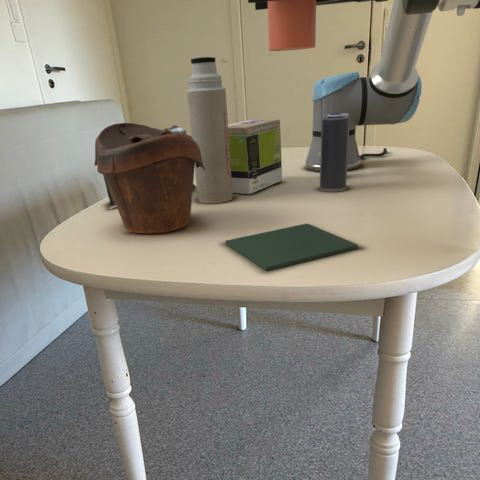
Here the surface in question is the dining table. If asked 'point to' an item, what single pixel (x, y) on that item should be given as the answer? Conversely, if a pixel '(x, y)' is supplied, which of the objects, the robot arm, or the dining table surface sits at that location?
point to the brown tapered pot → (148, 175)
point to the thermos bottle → (210, 131)
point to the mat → (289, 246)
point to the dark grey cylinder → (334, 154)
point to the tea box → (254, 155)
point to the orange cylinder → (291, 24)
